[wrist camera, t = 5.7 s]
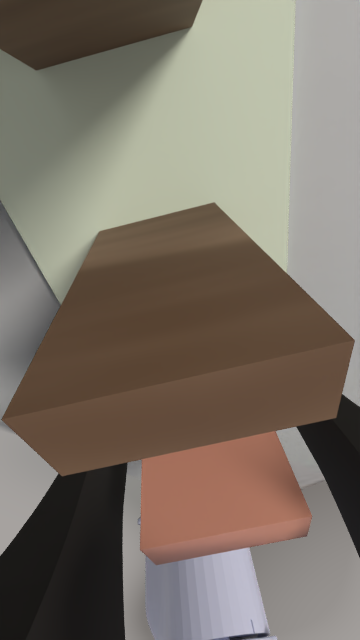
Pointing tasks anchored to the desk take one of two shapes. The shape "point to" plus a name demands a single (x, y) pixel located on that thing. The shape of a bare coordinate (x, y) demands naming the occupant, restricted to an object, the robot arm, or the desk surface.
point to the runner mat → (152, 134)
